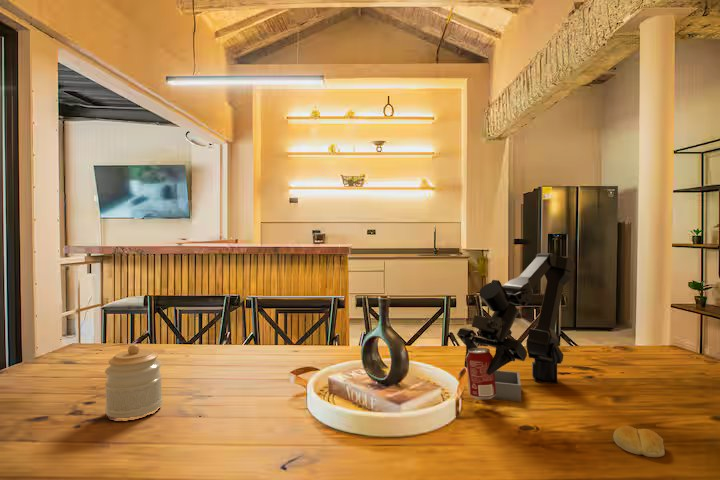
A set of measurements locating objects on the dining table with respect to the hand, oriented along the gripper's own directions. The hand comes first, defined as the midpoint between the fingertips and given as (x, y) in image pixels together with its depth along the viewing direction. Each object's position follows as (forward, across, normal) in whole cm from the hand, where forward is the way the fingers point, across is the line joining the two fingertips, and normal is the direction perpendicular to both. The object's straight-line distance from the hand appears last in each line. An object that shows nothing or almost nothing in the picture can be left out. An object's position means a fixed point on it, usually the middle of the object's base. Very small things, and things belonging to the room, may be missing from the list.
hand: (476, 370), depth 107 cm
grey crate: (-3, -3, +17) cm, 17 cm away
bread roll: (0, +33, +15) cm, 37 cm away
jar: (+57, -54, -44) cm, 90 cm away
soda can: (+4, +1, +6) cm, 7 cm away
